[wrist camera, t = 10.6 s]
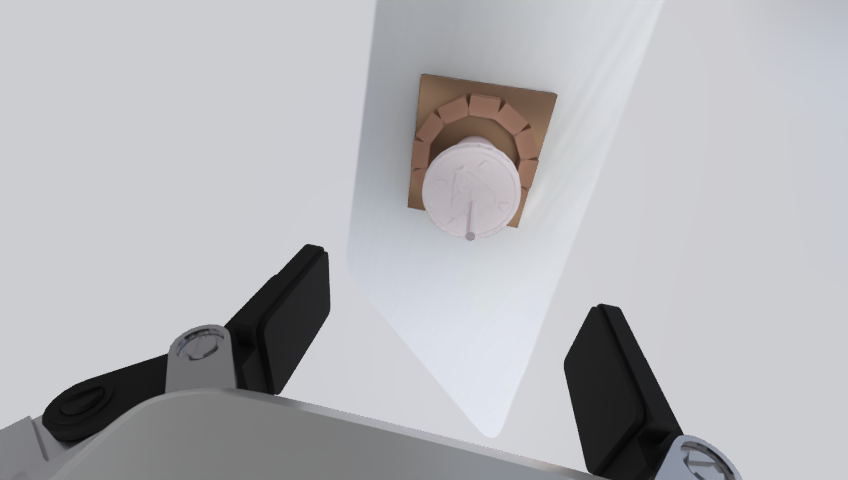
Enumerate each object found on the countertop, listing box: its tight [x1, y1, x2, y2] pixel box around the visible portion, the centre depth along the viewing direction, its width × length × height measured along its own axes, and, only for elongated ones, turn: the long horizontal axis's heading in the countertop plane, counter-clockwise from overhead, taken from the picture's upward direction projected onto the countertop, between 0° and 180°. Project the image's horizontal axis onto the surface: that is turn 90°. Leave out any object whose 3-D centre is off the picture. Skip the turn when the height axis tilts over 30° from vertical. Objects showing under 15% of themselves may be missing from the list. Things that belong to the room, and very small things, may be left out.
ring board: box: [408, 74, 557, 228], centre depth 29 cm, size 12×11×3 cm
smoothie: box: [422, 135, 521, 241], centre depth 23 cm, size 6×6×14 cm
